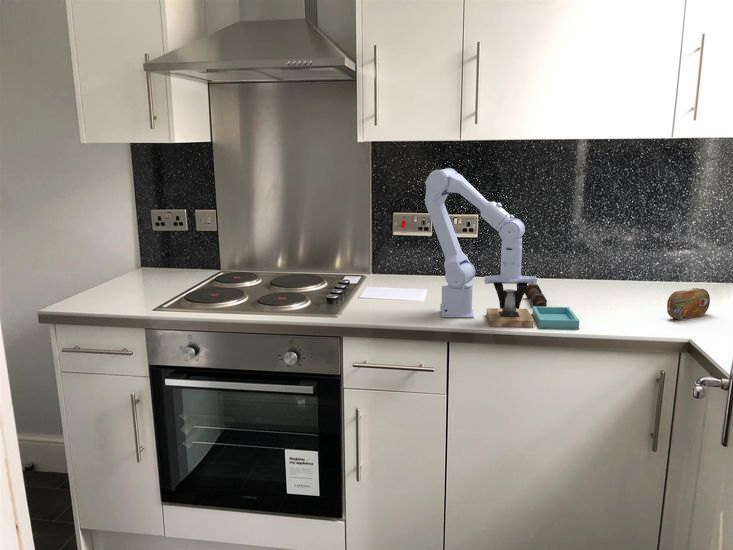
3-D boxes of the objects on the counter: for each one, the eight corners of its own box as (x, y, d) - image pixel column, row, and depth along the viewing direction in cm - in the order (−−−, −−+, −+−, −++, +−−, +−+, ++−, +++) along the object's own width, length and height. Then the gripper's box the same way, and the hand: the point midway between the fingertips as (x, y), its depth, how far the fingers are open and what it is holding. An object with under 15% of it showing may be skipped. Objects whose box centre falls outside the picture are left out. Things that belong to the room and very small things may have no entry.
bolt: (538, 317, 191) (529, 302, 206) (553, 309, 191) (543, 294, 205) (529, 301, 190) (521, 287, 205) (544, 293, 189) (535, 280, 204)
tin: (672, 322, 178) (675, 293, 176) (663, 319, 181) (666, 291, 179) (709, 315, 184) (712, 287, 182) (700, 312, 187) (703, 285, 185)
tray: (539, 328, 174) (540, 320, 174) (532, 314, 187) (532, 306, 187) (578, 329, 173) (579, 320, 172) (568, 315, 186) (569, 306, 186)
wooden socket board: (489, 326, 176) (490, 320, 176) (486, 314, 188) (486, 308, 188) (533, 327, 175) (533, 320, 175) (527, 315, 187) (527, 308, 186)
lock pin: (502, 319, 180) (503, 292, 178) (501, 315, 184) (502, 289, 182) (516, 319, 179) (518, 292, 177) (515, 315, 183) (516, 289, 181)
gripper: (486, 264, 174) (485, 311, 178) (539, 265, 173) (537, 312, 176) (484, 259, 181) (483, 304, 184) (535, 260, 180) (533, 305, 183)
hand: (509, 307), depth 181 cm, fingers closed on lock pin, 4 cm apart
